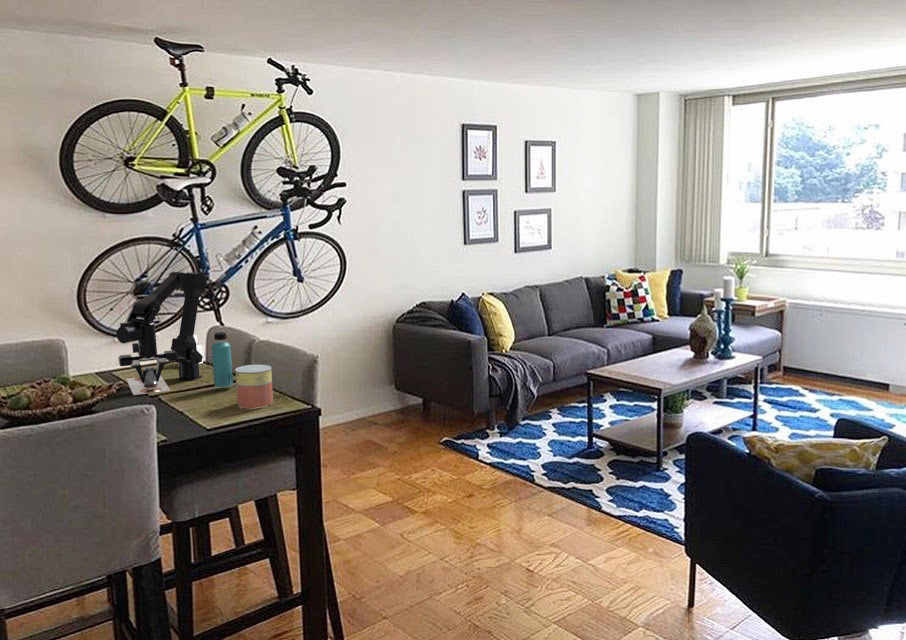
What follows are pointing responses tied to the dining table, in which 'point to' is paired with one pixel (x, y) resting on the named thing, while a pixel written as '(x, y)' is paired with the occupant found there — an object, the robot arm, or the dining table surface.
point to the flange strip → (139, 388)
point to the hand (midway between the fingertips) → (150, 382)
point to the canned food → (254, 385)
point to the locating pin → (150, 377)
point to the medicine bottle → (199, 349)
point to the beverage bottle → (222, 361)
